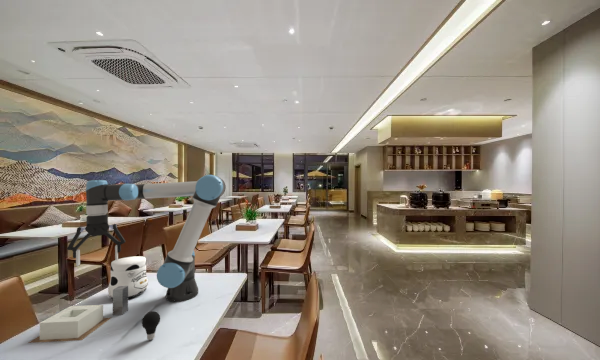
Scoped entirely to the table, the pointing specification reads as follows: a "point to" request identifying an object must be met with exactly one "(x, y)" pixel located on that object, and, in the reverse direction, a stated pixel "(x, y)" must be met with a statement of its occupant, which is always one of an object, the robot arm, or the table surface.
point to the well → (71, 322)
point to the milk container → (129, 275)
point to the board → (73, 338)
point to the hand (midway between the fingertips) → (98, 262)
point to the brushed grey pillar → (120, 300)
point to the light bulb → (151, 323)
